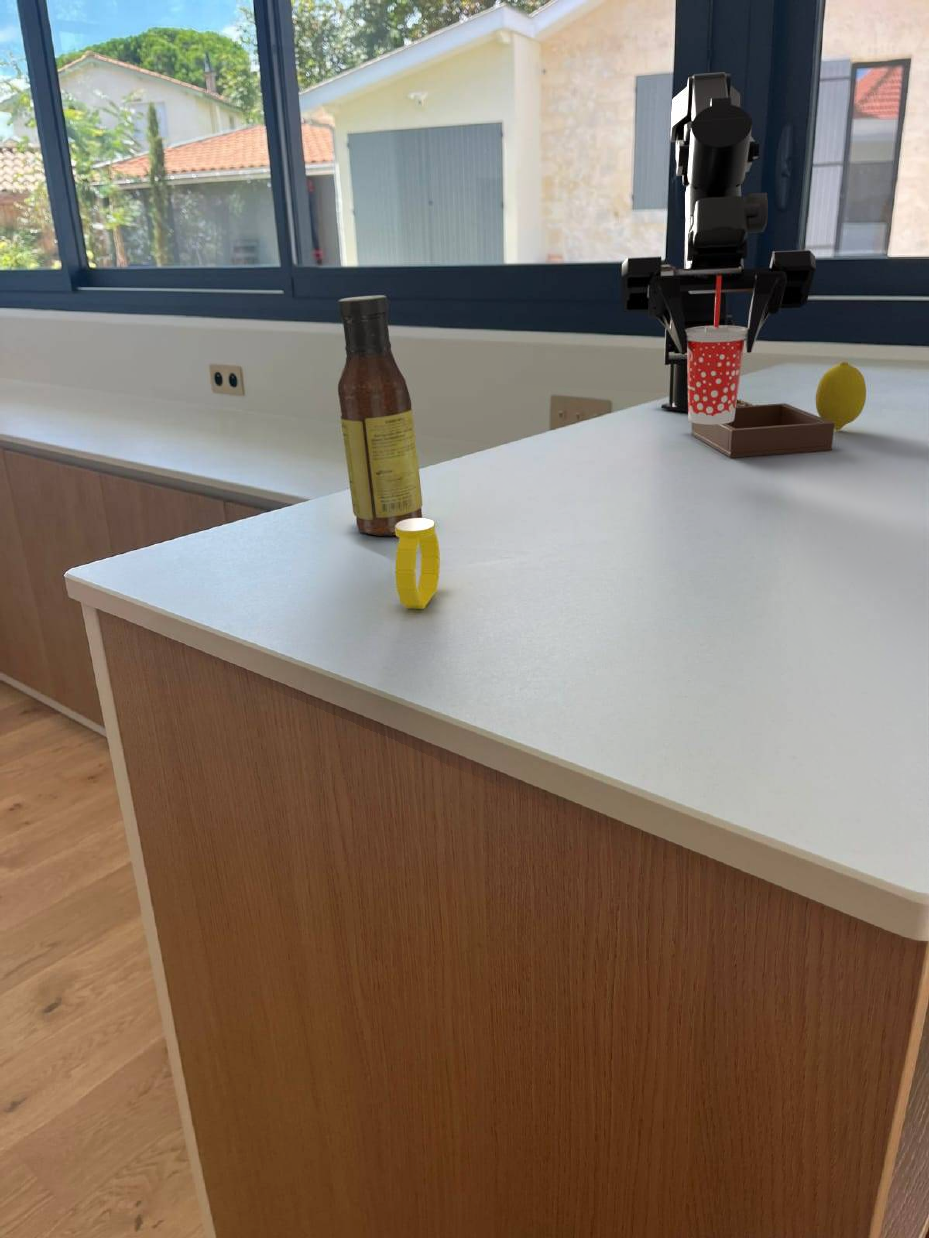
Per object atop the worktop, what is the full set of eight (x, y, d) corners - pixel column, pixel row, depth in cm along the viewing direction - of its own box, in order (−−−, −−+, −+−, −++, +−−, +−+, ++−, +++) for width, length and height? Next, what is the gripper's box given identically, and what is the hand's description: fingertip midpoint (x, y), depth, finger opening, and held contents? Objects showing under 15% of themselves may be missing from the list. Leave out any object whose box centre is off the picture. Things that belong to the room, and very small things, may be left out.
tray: (691, 434, 115) (692, 409, 114) (783, 427, 116) (785, 403, 115) (730, 458, 103) (732, 430, 102) (831, 450, 104) (834, 423, 103)
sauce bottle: (433, 519, 87) (419, 292, 79) (408, 540, 82) (389, 299, 74) (369, 516, 89) (348, 294, 81) (339, 536, 84) (315, 301, 76)
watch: (415, 586, 71) (410, 510, 69) (450, 588, 71) (446, 511, 68) (389, 616, 66) (381, 535, 64) (426, 619, 65) (421, 537, 63)
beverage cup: (693, 411, 101) (700, 273, 96) (750, 415, 98) (760, 272, 93) (671, 423, 97) (677, 279, 91) (730, 428, 94) (739, 278, 88)
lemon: (869, 434, 111) (877, 364, 107) (821, 436, 111) (828, 366, 108) (852, 424, 116) (859, 357, 113) (806, 426, 116) (812, 359, 113)
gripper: (623, 170, 93) (620, 300, 88) (822, 159, 90) (832, 292, 84) (622, 251, 103) (620, 372, 98) (801, 243, 100) (809, 367, 95)
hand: (716, 351), depth 93 cm, fingers closed on beverage cup, 6 cm apart
